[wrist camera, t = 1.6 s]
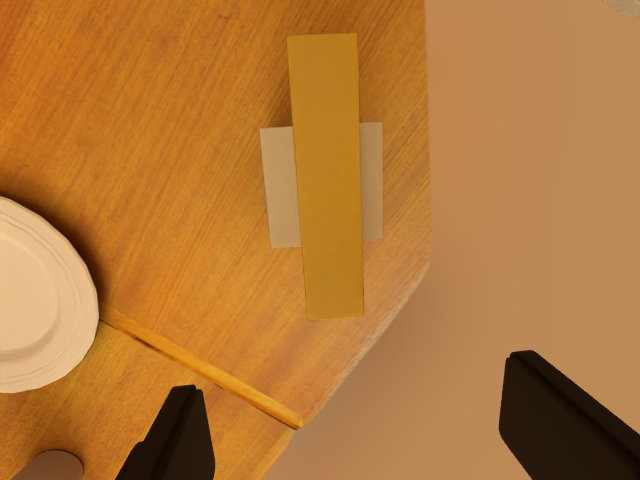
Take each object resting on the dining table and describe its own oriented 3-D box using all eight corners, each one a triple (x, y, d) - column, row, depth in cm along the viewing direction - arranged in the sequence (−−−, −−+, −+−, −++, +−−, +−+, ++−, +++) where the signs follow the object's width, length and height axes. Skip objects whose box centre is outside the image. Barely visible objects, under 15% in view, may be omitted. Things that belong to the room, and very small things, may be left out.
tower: (267, 134, 29) (248, 118, 17) (353, 129, 29) (391, 111, 18) (276, 219, 31) (263, 256, 19) (356, 214, 31) (391, 247, 20)
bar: (287, 56, 16) (285, 34, 14) (347, 53, 17) (358, 31, 14) (305, 298, 20) (307, 321, 17) (354, 294, 20) (364, 316, 17)
